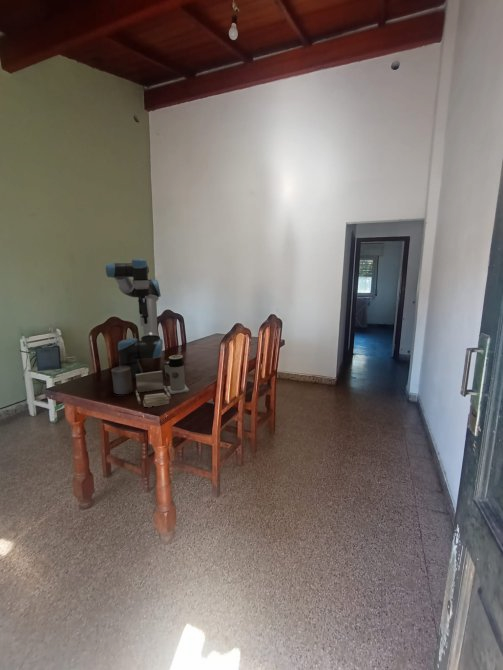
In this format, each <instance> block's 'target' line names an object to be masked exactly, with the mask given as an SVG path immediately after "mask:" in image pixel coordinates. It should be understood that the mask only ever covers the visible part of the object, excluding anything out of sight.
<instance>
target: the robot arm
mask: <svg viewBox="0 0 503 670" xmlns="http://www.w3.org/2000/svg"><path fill="white" fill-rule="evenodd" d="M149 272H150V268H149V266H148V263H147V259H145V258H134V259H131V262H129V263H128V262H126V263H124V262H119V263H118V262H117V263H115V262H113V263H107V264H106V265H105V274H106V277H108V278H111V279H114V280H115V282H116V283H117V284H118V288H119V290H120V292H122V294H124V295H126V296H128V297H131V298H138V299H137V302H138V313H139V321H140V322H139V324H140V327H142V329H143V335H142V336H141V338H140V340H138V338H136V337H130V338H126V339H123V340H120V341H118V342H117V352H118V362H119V365H118V367H120V366H129V367H130V370H131V378H132V380H134V379H136V374H141V373H144V372H143V368H142V366H141V363H140V360H147V359H157V358H161V357H162V354H163V348H164V347H163V346H164V345H163V343H164V342H163V341H164V340H163V339H162V338H161V336H159V334H158V331H159V330H158V313H157V301H159V298H160V297H161V291H160V286H159V285H160V284H159V281H158V280H157V279H152V278H151V279H149V277H148V276H149ZM131 278H133V279H131Z"/></svg>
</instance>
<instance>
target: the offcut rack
mask: <svg viewBox="0 0 503 670" xmlns="http://www.w3.org/2000/svg"><path fill="white" fill-rule="evenodd" d="M163 377H164V376H163V370H158V371H157V370H156V371H149V372H143V373H141V374H136V378H135V381H136V382H135V383H136V390H135V396H136V400H137V403H138V405H142V404H143V408H144V407H148V408H152V406H154V407H158V406H164V405H169V404H170V400H171V399H172V394H170V392H169V391H168V389H167V386H166V385H164V378H163ZM156 390H157V391H159V390H164V392H159V393H153V394H152V393H150V394H144V398H143V401H142V402H141V398H140V393H145V391H146V392H152V391H156ZM138 392H139V393H138Z"/></svg>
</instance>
